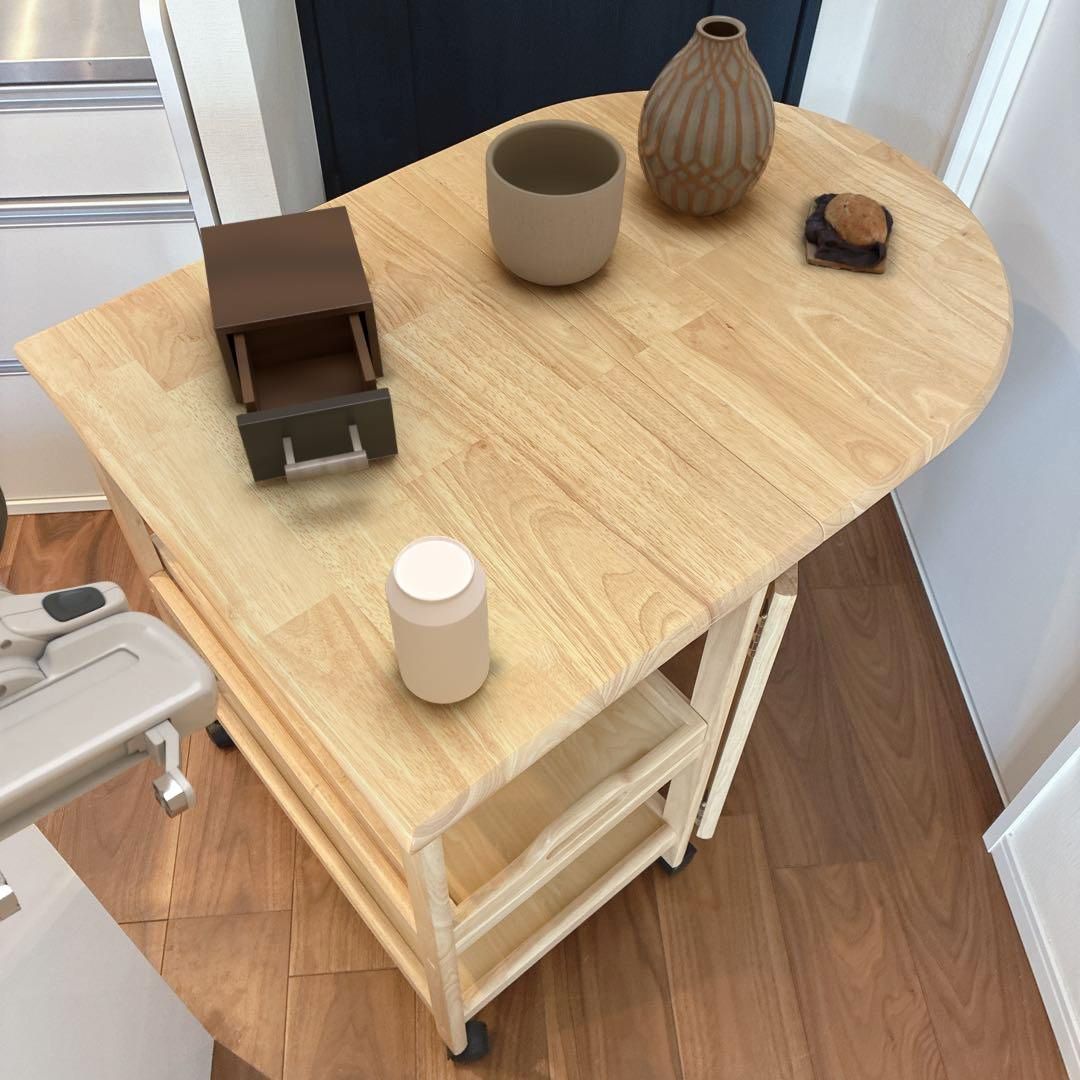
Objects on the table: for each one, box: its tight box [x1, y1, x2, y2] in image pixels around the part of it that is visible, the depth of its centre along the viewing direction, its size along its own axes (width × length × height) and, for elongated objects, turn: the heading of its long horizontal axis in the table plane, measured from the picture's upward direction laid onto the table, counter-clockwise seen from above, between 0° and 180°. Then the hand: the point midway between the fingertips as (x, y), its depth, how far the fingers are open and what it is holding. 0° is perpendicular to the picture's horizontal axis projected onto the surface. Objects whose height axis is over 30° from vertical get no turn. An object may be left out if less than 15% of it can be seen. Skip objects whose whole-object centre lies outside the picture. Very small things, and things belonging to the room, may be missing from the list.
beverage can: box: [384, 535, 491, 704], centre depth 68 cm, size 6×6×12 cm
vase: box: [636, 15, 776, 217], centre depth 101 cm, size 13×13×18 cm
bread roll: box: [804, 192, 894, 274], centre depth 103 cm, size 11×8×4 cm
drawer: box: [233, 312, 399, 484], centre depth 83 cm, size 17×11×6 cm
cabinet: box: [199, 205, 384, 403], centre depth 91 cm, size 14×13×8 cm
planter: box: [484, 118, 627, 287], centre depth 97 cm, size 12×12×11 cm
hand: (98, 856), depth 53 cm, fingers open, 8 cm apart
